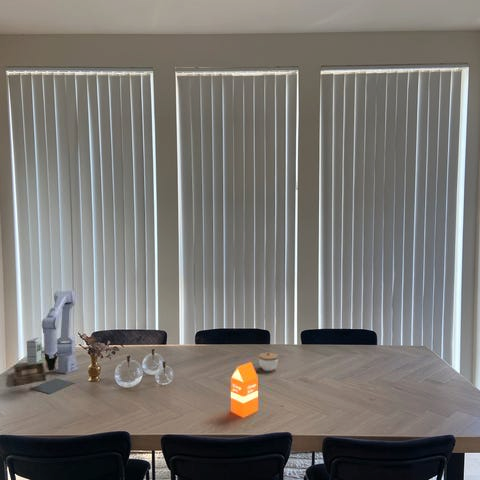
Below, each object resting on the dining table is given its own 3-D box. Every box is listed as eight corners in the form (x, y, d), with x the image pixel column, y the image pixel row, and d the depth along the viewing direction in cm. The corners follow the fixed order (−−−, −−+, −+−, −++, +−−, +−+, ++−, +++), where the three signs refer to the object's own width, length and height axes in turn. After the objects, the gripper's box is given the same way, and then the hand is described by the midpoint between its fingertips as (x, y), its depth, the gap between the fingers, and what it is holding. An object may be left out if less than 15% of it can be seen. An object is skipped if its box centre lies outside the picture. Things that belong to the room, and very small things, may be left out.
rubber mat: (74, 383, 191) (74, 382, 191) (49, 394, 179) (49, 393, 179) (55, 379, 197) (55, 378, 197) (30, 389, 185) (30, 388, 185)
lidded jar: (257, 371, 205) (256, 354, 205) (260, 365, 216) (260, 348, 216) (276, 373, 203) (276, 356, 203) (279, 366, 213) (279, 350, 213)
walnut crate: (43, 368, 213) (42, 362, 213) (45, 380, 196) (45, 373, 196) (14, 373, 206) (14, 367, 206) (14, 386, 189) (14, 379, 189)
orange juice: (230, 411, 160) (230, 364, 160) (245, 404, 166) (245, 359, 166) (243, 417, 154) (243, 369, 154) (258, 410, 161) (258, 364, 160)
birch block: (55, 367, 191) (55, 358, 191) (55, 370, 187) (55, 360, 187) (45, 369, 189) (45, 359, 188) (45, 372, 185) (45, 362, 185)
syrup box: (36, 365, 218) (36, 340, 218) (26, 365, 219) (26, 340, 218) (42, 361, 224) (41, 337, 224) (32, 361, 224) (32, 337, 224)
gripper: (41, 339, 192) (41, 365, 192) (42, 346, 179) (42, 374, 179) (56, 337, 195) (56, 363, 196) (58, 344, 183) (58, 372, 183)
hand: (51, 368), depth 188 cm, fingers closed on birch block, 4 cm apart
